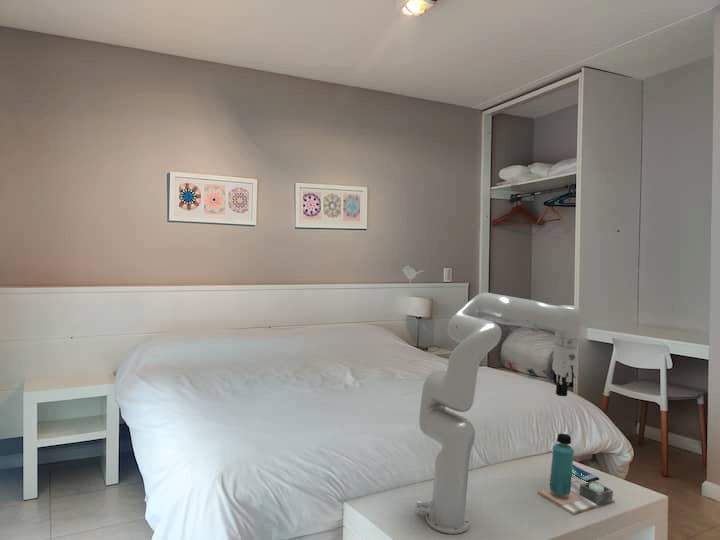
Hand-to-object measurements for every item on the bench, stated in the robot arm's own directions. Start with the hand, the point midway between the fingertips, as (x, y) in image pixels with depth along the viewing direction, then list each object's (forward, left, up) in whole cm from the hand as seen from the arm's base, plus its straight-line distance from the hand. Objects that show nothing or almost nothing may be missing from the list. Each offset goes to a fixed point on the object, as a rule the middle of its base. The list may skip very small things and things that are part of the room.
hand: (561, 395), depth 175 cm
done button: (+12, -6, -30) cm, 33 cm away
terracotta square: (+1, -10, -31) cm, 33 cm away
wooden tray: (+7, -7, -31) cm, 33 cm away
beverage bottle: (+1, -10, -30) cm, 32 cm away
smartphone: (+9, +13, -32) cm, 35 cm away
